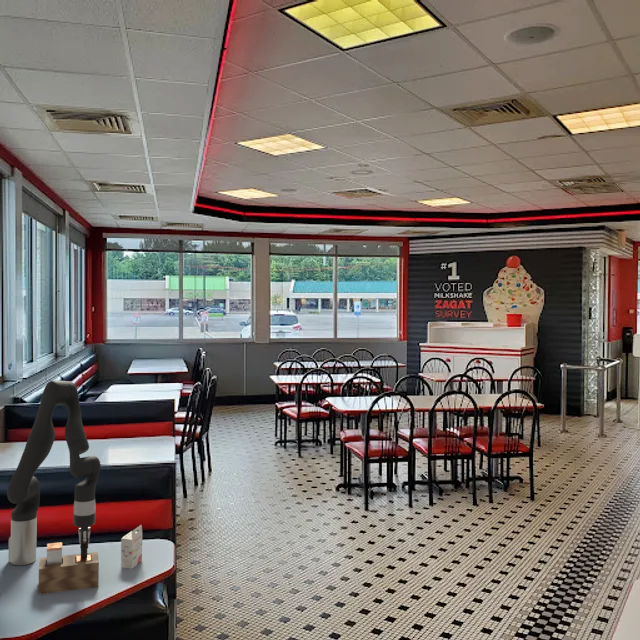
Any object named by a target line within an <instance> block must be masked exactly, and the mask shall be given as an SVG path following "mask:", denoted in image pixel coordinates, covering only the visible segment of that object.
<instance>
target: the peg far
mask: <svg viewBox="0 0 640 640" xmlns="http://www.w3.org/2000/svg"><path fill="white" fill-rule="evenodd" d="M87 561H91V555H87V558H86V559H81V556H76V563H77V562H87Z"/></svg>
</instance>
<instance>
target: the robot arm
mask: <svg viewBox="0 0 640 640" xmlns="http://www.w3.org/2000/svg"><path fill="white" fill-rule="evenodd" d="M56 406H65V408H66V410H67V413H68V414H67V415H68V417H67V421H66V424H65V428H64V437H65V441H66V445H67V447H68V450H69V452H68V453H69V472H70V474H71V476H72V477H74V478H75V479H80V478H81V479H82V478H84V480H82V481H80V482H78V483H77V484H75V486H74V502H73V526H75V528H76V527H77V528H78V542H79V544H80V545H79V547H80V554H81V559H86V558H87V553H88V549H89V543H90V536H91V526H94V525H95V524H96V510H97V509H96V485H97V482H98V479H99V476H100V471H101V461H100V459H99V458H98V457H97V456H96V455H90V456H89V455H88V456H82V457H80V455H83V454H85V453H87V451H88V450H89V448H90V444H89V441H88V438H87V435H86V432H85V429H84V425H83V420H82V412H81V404H80V398H79V391H78V388H77V386H76V384H75V383H74V382H73V381H71V380H70V381H69V380H50V381H48V382H47V383H46V385H45V387H44V389H43V392H42V394H41V400H40V402H39V407H38V410H37V411H38V412H37V414H36V415H35V418H34V419H35V420H34V421H33V424H32V428H31V431H30V433H29V435H28V438H27V440H26V443H25V447H24V449H23V452H22V454H21V457H20V459H19V462H18V465H17V467H16V470H15V471H14V474H13V475H12V478H11V479H10V481H9V483H8V484H7V485H8V486H7V488H6V495H7V499H8V501H9V502H10V503H12V504H13V505H14V504H16V506H15V507H14V509H12V511H11V514H10V536H9V538H8V557H7V559H8V562H9V563H10V565H13V566H26V565H30V564H32V563H34V562H35V561H36V560H37V533H38V531H37V526H38V525H37V524H38V523H37V522H38V521H37V520H38V512H39V509H40V497H41V486H40V481H39V479H38V478H37V477H36V476H34V475H35V473H36V471H37V470H38V469H39V468H40V466H41V465H42V464H43V462H44V461H45V460H46V459H47V457H48V455H50V452H51V451H52V450H51V449H52V447H53V444H54V443H55V439H56V431H55V427H54V423H53V412H54V410H55V408H56ZM8 562H7V563H8Z"/></svg>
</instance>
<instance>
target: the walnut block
mask: <svg viewBox="0 0 640 640" xmlns="http://www.w3.org/2000/svg"><path fill="white" fill-rule="evenodd" d="M87 555H91V561H87V562H77V563H76V556H81V553H76V554H66V555H62V564H59V565H50V566H47V556H45V557H39V564H38V593H37V594H38V595H42V594H52V593H53V594H54V593H59V592H67V591H69V592H70V591H75V590H83V589H84V590H85V589H92V588H99V582H100V581H99V577H100V575H99V574H100V572H99V571H100V567H99V566H100V561H99V553H98V551H95V552H87Z"/></svg>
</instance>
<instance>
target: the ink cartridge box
mask: <svg viewBox="0 0 640 640" xmlns="http://www.w3.org/2000/svg"><path fill="white" fill-rule="evenodd" d="M120 539H121V540H120V544H121V545H120V547H121V548H120V549H121V550H120V560H121V561H120V568H121V569H128V570H129V569H130V570H131V569H132V570H133V569H134V568H135V567H136V566H137V565H139V563H140V562H142V561H143V526H142V524H140V525H139V526H137V527H136V528H134V529H133V530H131V531H130V532H128V533H127V534H125V535H124V536H122V538H120Z"/></svg>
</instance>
